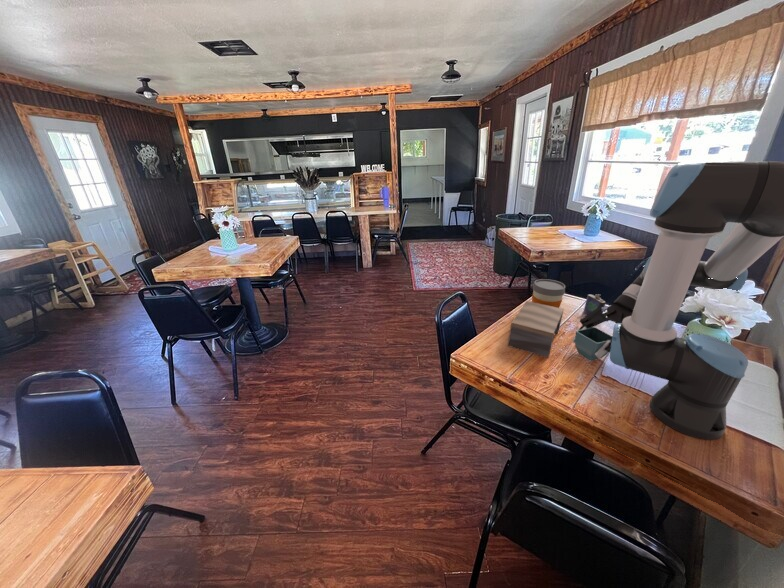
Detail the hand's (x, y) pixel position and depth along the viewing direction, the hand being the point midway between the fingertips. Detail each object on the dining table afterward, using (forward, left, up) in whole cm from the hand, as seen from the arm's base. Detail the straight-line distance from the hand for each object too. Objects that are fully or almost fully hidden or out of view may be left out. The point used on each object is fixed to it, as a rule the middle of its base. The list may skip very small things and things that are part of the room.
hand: (585, 349), depth 109 cm
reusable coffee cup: (+27, +18, -4) cm, 32 cm away
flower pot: (+3, -2, -4) cm, 5 cm away
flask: (+37, 0, -4) cm, 37 cm away
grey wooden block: (+5, +17, -4) cm, 18 cm away
